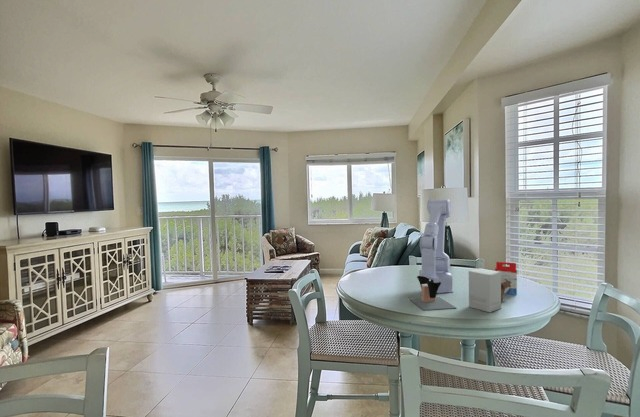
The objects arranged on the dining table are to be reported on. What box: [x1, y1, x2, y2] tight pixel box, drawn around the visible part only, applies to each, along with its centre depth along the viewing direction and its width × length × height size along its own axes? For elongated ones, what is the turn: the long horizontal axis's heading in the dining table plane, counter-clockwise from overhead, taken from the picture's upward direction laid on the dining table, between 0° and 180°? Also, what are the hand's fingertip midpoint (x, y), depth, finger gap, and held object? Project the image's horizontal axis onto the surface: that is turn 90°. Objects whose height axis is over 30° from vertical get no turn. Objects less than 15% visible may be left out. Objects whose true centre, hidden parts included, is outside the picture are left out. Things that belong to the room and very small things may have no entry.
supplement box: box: [468, 267, 502, 313], centre depth 129 cm, size 9×9×15 cm
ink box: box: [494, 261, 518, 296], centre depth 148 cm, size 8×5×15 cm, turn 65°
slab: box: [421, 284, 435, 302], centre depth 137 cm, size 5×3×7 cm, turn 97°
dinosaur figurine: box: [501, 279, 511, 303], centre depth 137 cm, size 14×6×9 cm, turn 122°
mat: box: [409, 296, 457, 311], centre depth 134 cm, size 14×14×1 cm
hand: (428, 295), depth 137 cm, fingers open, 7 cm apart
